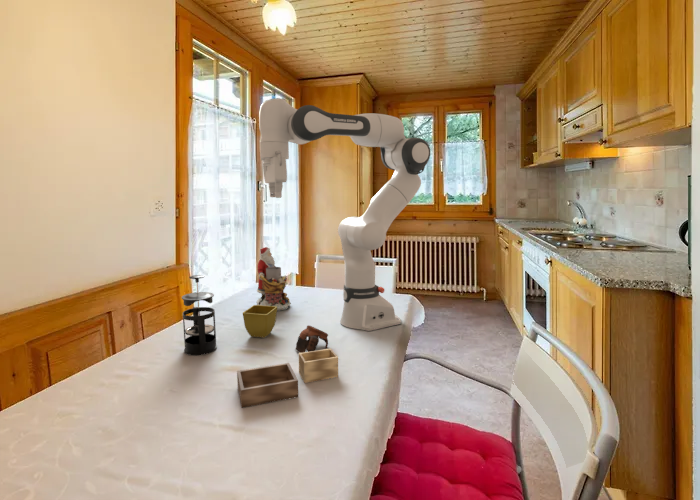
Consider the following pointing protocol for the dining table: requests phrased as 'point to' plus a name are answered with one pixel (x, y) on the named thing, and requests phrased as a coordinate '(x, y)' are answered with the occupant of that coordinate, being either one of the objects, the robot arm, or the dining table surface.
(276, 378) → the big crate
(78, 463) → the dining table surface
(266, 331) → the flower pot
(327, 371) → the small crate
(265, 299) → the santa figurine
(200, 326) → the french press
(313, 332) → the pottery mug
